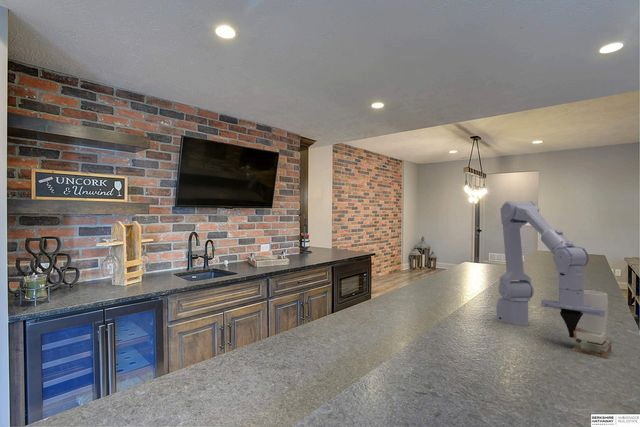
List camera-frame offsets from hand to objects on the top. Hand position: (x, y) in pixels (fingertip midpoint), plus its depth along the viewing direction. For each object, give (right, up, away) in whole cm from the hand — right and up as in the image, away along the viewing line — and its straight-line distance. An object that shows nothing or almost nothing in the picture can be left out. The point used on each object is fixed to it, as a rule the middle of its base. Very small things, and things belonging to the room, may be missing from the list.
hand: (572, 336), depth 92 cm
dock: (-1, -4, +1) cm, 4 cm away
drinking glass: (+12, -4, +6) cm, 14 cm away
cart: (+3, -1, -3) cm, 4 cm away
